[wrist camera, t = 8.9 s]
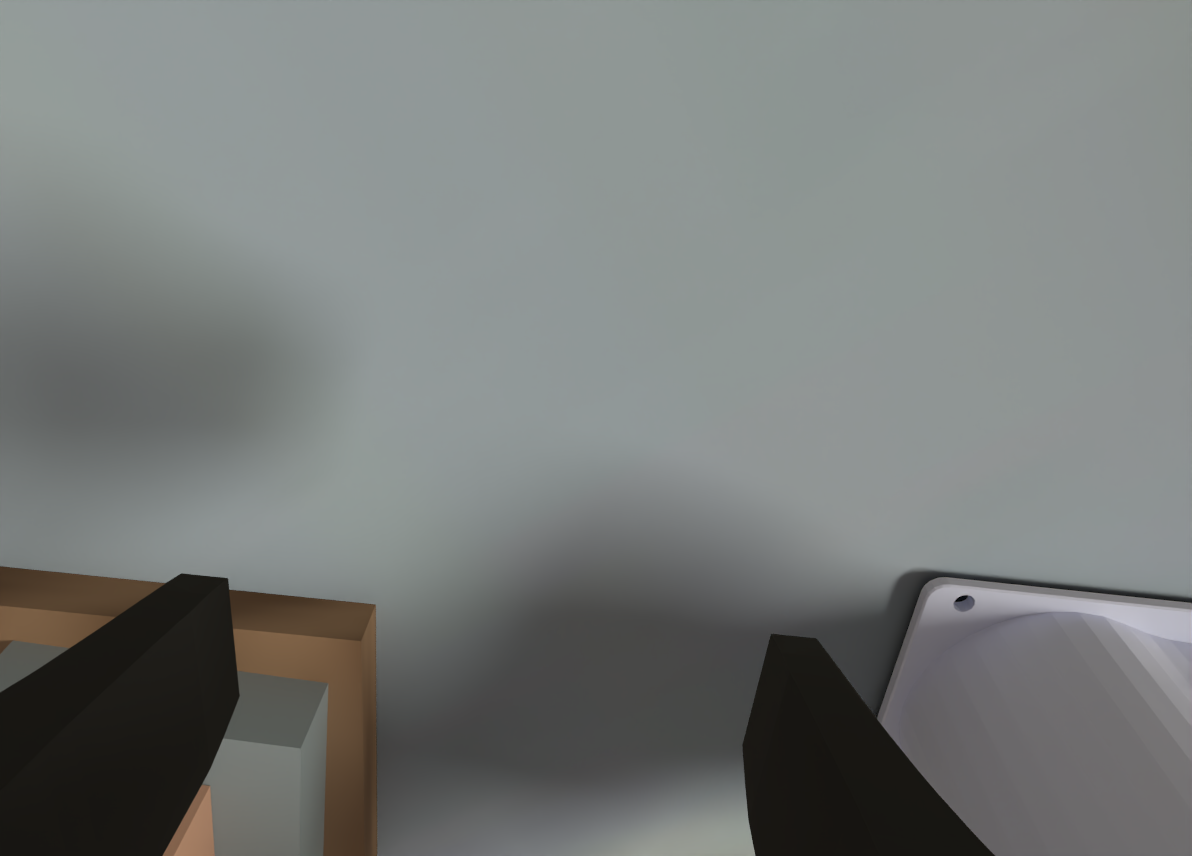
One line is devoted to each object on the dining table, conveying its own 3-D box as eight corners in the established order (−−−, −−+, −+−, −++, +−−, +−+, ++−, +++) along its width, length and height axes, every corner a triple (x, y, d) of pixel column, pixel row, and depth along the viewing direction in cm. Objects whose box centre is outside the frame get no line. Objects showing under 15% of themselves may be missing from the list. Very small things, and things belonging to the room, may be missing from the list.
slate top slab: (328, 682, 22) (300, 748, 20) (322, 882, 26) (298, 955, 24) (13, 639, 22) (-47, 702, 20) (50, 849, 25) (3, 920, 23)
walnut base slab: (382, 587, 24) (361, 641, 22) (382, 834, 28) (365, 897, 26) (13, 550, 23) (-43, 601, 21) (73, 806, 28) (31, 867, 26)
